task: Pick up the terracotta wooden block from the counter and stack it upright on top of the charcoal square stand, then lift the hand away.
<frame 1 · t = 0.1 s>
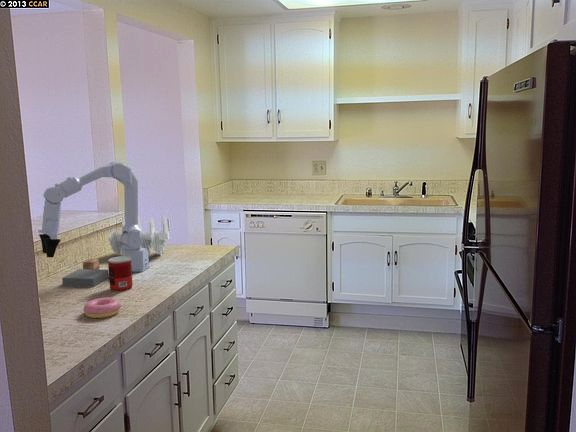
hand: (48, 255, 193), 11 cm above the worktop, tool pointing down, fingers open, 7 cm apart
doughnut: (102, 314, 161), on the worktop
canned food: (121, 288, 186), on the worktop
white irregular piece: (142, 255, 236), on the worktop
terracotta block: (91, 272, 207), on the worktop
charcoal stand: (86, 281, 195), on the worktop
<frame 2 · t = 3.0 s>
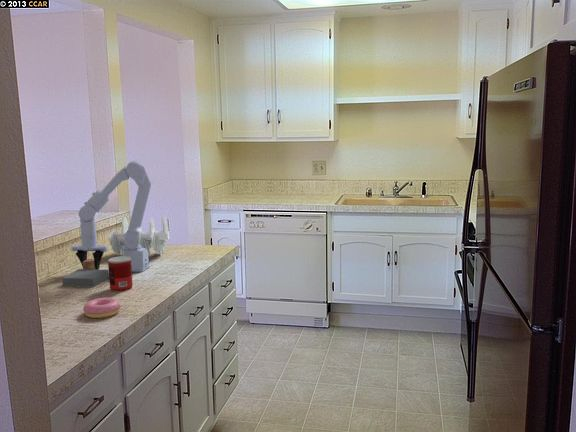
hand: (91, 268, 207), 2 cm above the worktop, tool pointing down, fingers closed on terracotta block, 4 cm apart
terracotta block: (91, 272, 207), on the worktop, touching gripper
everything else where it was.
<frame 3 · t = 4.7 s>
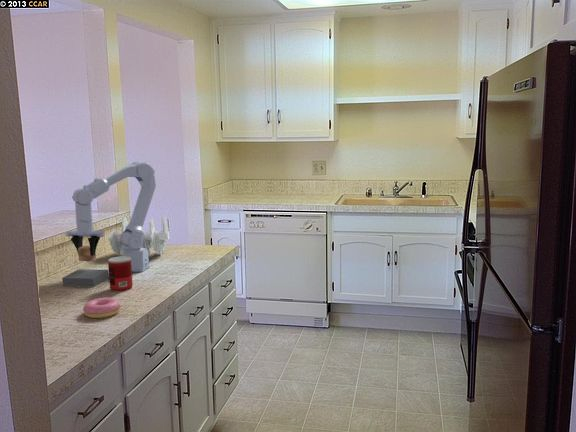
hand: (86, 254, 199), 9 cm above the worktop, tool pointing down, fingers closed on terracotta block, 4 cm apart
terracotta block: (87, 259, 200), point 7 cm above the worktop, touching gripper
everything else where it was.
when the fingers open (6 cm above the worktop, at t = 6.6 s): terracotta block drops 1 cm, resting on charcoal stand.
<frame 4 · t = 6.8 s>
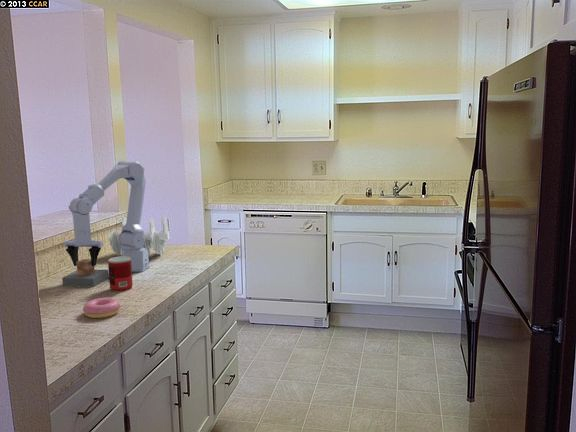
hand: (85, 265, 194), 6 cm above the worktop, tool pointing down, fingers open, 6 cm apart
terracotta block: (86, 273, 195), point 3 cm above the worktop, touching charcoal stand
everything else where it was.
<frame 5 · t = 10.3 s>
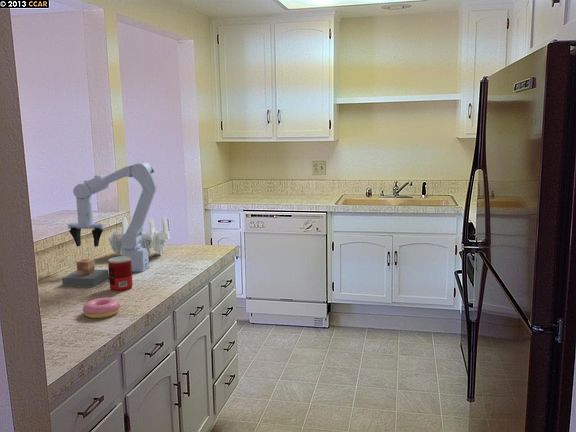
hand: (87, 246, 210), 10 cm above the worktop, tool pointing down, fingers open, 7 cm apart
nothing on the worktop moved.
at the end: terracotta block inside the target area on the charcoal stand (0.3 cm from its centre), point 3.0 cm above the charcoal stand's base; terracotta block tilted 0°; the gripper is holding nothing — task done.
